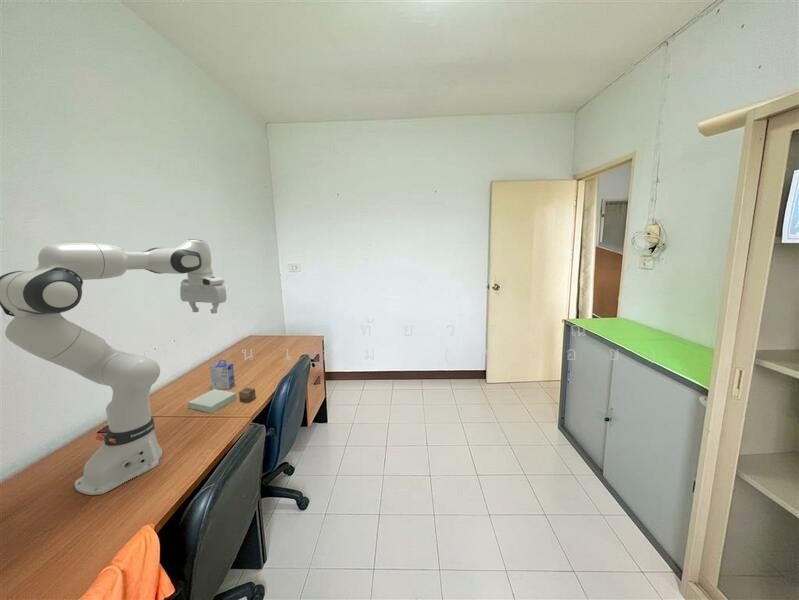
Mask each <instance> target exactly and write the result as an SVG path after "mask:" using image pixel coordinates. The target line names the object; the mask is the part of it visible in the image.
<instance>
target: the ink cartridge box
mask: <svg viewBox="0 0 799 600" xmlns="http://www.w3.org/2000/svg"><path fill="white" fill-rule="evenodd" d="M209 373H210V383H211V384H210V385H211V390H213V389H217V390H230V389H232V388H233V387H234V386H236V382H235V381H236V380H235V372H234V363H227V359H219V360H218V363H215V364H213V365H211V366H210V367H209Z"/></svg>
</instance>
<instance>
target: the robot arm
mask: <svg viewBox="0 0 799 600" xmlns="http://www.w3.org/2000/svg"><path fill="white" fill-rule="evenodd" d="M211 255H212V254H211V250H210V247H209V244H208V243H207V242H206V241H205V240H201V239H194V238H189V239H186V240H185V241H184V242H183V243H181V244H180V245H177V246H175V247H168V248H167V247H152V248H150V249H147V250H145V251H124V250H123V248H121V247H120V246H118V245H114V244H110V243H109V244H107V243H102V242H101V243H100V242H87V241H86V242H81V241H80V242H78V241H77V242H76V241H75V242H60V243H53V244H48V245H46V246H44V247H43V248H42V249H40V251H39V253H38V256H37V262H38V265H37V267H36V268H35V269H34V270H16V271H15V270H14V271H10V272H8V273H5V274H3V275H1V276H0V307H1V309H2V310H3V312H4V314H5V315H7V316H10V317H13V318H12V320H11V321H9V323H8V324H7V326H6V328H5V331H4V333H5V337H6V338H7V340H8V341H9V342H11V343H12V344H14V345H16V346H17V347H19V348H20V349H22V350H24V351H26V352H28V353H29V354H31V355H34V356H36V357H38V358H40V359H43V360H45V361H47V362H49V363H53V364H54V365H56V366H60V367H62V368H65V369H67V370H70V371H72V372H74V373H76V374H77V375H79V376H81V377H82V378H85V379H86V380H88V381H91V382H94V383H96V384H98V385H103V386H107V387H110V388H111V389H112V397H111V401H110V402H108V404H107V406H106V407H105V413H106V417H107V419H106V420H107V425H108V429H107V432H106V434H105V433H104V434H103V433H98V434H96V436H95V440H96V441H100V442H102V441H104V442H103V444H102V445H100V447H99V448H98V449H97V450H96V452H95V453H93V454H92V455H91V456H90V458H89V459H88V460H87V461H86V462H85V463H84V467H83V475H82V476H80V477H78V478H77V479H76V480H75V482H74V488H75V490H76V491H77V492H79V493H81V494H84V495H89V496H95V495H103V494H106V493H107V492H109V491H111V490H113V489H115V488H118V487H119V486H121V485H123V484H125V483H127V482H129V481H130V479H131V480H132V478H133V479H134V477H135V478H137V477H138V476H141V475H143V474H145V473H147V472H148V471H150V470H152V469H153V468H156V467H157V466H158V465H159V462H160V461H159V460H160V459H161V457H162V455H163V451H164V450H163V448H161V446H160V444H159V442H158V439H157V437H156V434H155V433H156V432H155V430H156V429H155V421H154V417H153V415H152V412H151V405H150V392H151V388H152V386H153V385H154V384H155V383H156V382H157V380H158V379H159V377H160V374H161V366H160V365H159V363H158V362H156V361H155V360H154V359H151V358H149V357H148V356H145V355H139V354H134V353H127V352H123V351H120V350H118V349H115V348H114V347H113V346H111V345H109V344H108V343H107V342H106V340H105V339H104V338H102V337H100V336H98V335H97V334H95V333H93V332H91V331H90V330H87V329H86V328H84V327H82V326H79V325H77V324H76V323H74V322H71V321H70V320H67V318H65V317H64V316H63V315H62V314H61V313H66V312H68V311H70V310H73V309H74V308H76V307H77V306H78V304H79V303H80V302H81V300H82V296H83V288H82V287H83V284H84V282H83V281H86V280H87V281H88V280H104V279H112V278H117V277H121V276H123V275H124V274H125V273H126V272H127V270H128V271H130V270H146V271H148V272H150V273H153V274H157V275H158V274H160V275H161V274H162V275H163V274H176V275H177V274H179V275H183V274H186V275H187V279H186V278H184V279H183V280H182V281H181V282H180V289H179V290H180V291H179V295H180V300H181V301H182V302H188V305H189V306H190V308H191V309H192V313H199V312H200V310H199V309H200V308H199V307H197V303H203V304H205V303H209V304H211V306H212V308H211V309H210V313H211V314H213V315H214V314H217V313H218V308H219V305H220V304H223V303H226V301H227V292H226V291H227V290H226V286H225V285H224V284H225V280H224V278H222V277H221V276H217V275H215V274H214V273H213V269H212V256H211ZM136 476H137V477H136ZM128 480H129V481H128ZM126 481H127V482H126ZM124 482H125V483H124ZM122 483H123V484H122Z"/></svg>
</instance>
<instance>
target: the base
mask: <svg viewBox="0 0 799 600" xmlns="http://www.w3.org/2000/svg"><path fill="white" fill-rule="evenodd" d="M236 400H237V393H236V392H232V391H228V390H223V389H211V390H209V391H207V392H206V393H205V392H204V393H203V394H202V395H200V396H196V397H195V398H193V399H191V400H189V401H187V406H188V409H191V410H195V411H200V412H203V413H209V414H212V413H214V412H216V411H218V410H219V409H221V408H223V407H225V406H226V405H229V404H230V403H233V401H236Z"/></svg>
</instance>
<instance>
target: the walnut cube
mask: <svg viewBox="0 0 799 600" xmlns="http://www.w3.org/2000/svg"><path fill="white" fill-rule="evenodd" d="M256 394H257V393H256V388H251V387H246V388H244V389H242V390H240V391H238V397H239V402H240V403H245V404H249V403H250V402H252V401H254V400H255V399H257V398H256V397H257V395H256Z"/></svg>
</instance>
